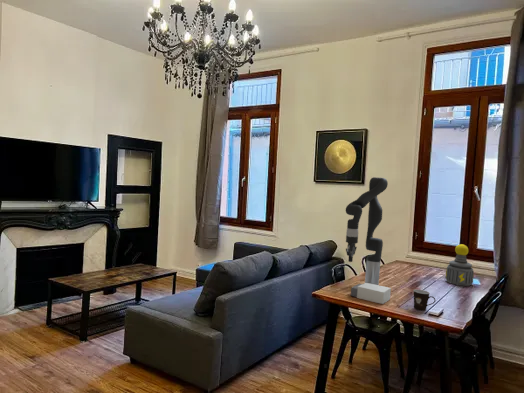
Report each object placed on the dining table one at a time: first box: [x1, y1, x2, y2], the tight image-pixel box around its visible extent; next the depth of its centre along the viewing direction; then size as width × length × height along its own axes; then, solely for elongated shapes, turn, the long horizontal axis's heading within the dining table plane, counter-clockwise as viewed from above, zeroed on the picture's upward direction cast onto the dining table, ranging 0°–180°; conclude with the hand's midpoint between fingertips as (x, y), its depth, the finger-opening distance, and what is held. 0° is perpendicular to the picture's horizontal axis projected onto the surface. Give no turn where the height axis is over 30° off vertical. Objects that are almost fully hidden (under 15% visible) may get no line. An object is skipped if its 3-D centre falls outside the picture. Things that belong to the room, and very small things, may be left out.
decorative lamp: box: [445, 243, 475, 287], centre depth 293 cm, size 19×19×30 cm
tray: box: [350, 283, 363, 298], centre depth 236 cm, size 14×18×5 cm
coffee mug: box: [413, 289, 436, 312], centre depth 219 cm, size 12×9×10 cm
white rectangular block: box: [356, 282, 392, 305], centre depth 234 cm, size 14×16×7 cm
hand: (350, 261), depth 248 cm, fingers closed
